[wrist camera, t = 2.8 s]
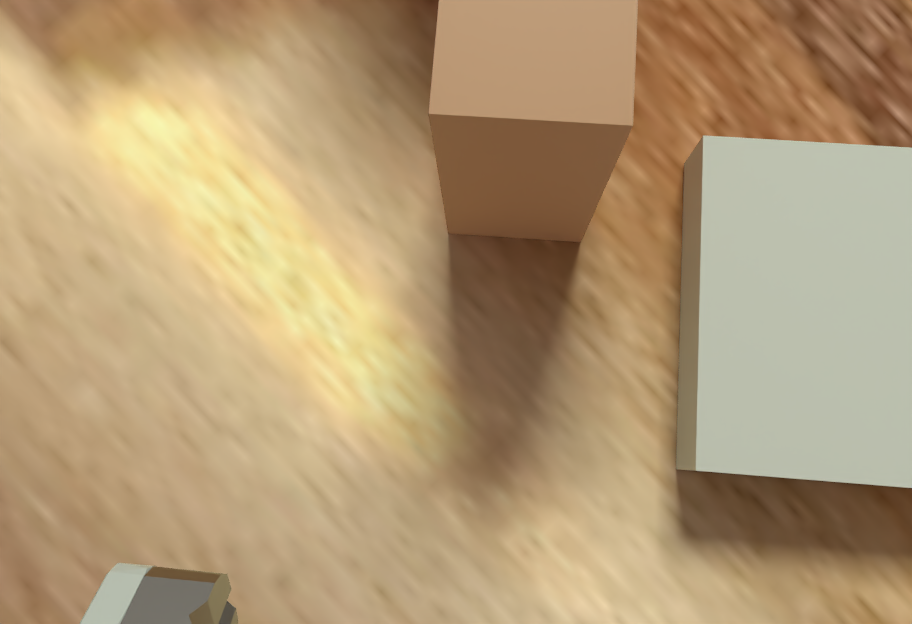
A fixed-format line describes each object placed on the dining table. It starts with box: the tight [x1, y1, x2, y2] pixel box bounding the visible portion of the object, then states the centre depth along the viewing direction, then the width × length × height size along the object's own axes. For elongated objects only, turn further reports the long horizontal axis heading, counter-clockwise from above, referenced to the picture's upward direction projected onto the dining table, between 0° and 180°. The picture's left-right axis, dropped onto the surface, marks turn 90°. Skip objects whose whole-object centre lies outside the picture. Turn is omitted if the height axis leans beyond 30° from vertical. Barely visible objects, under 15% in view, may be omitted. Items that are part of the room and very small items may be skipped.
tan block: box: [429, 0, 638, 242], centre depth 23 cm, size 5×5×10 cm
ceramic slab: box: [676, 136, 912, 488], centre depth 26 cm, size 11×11×2 cm
